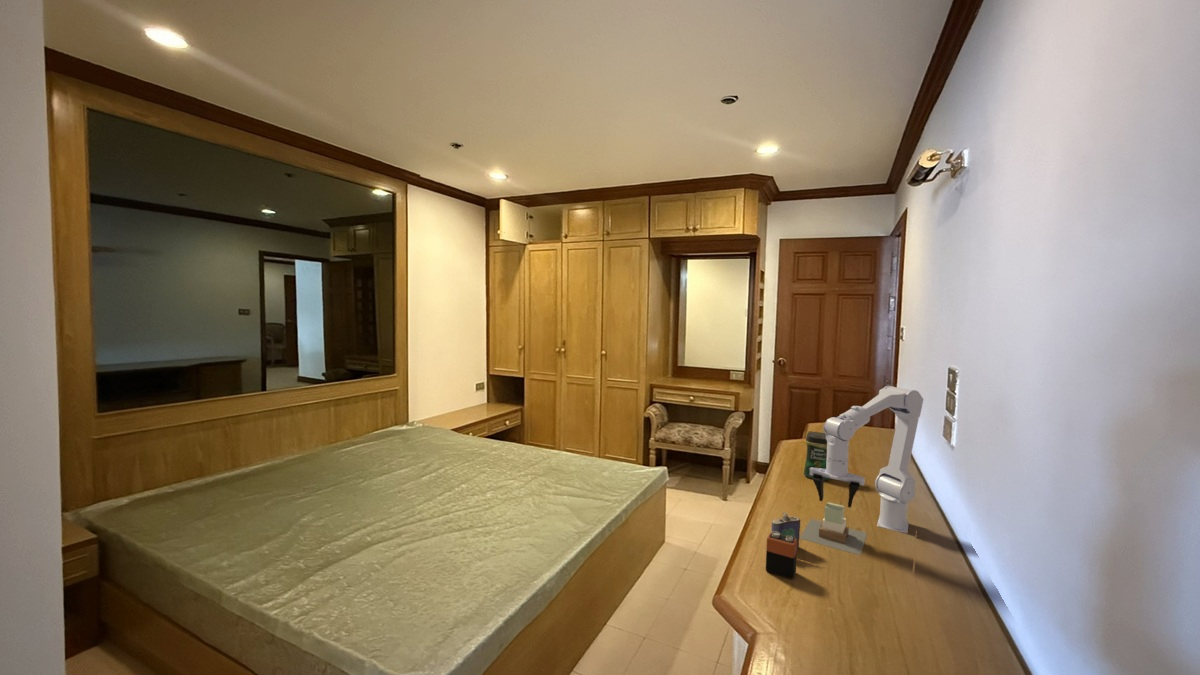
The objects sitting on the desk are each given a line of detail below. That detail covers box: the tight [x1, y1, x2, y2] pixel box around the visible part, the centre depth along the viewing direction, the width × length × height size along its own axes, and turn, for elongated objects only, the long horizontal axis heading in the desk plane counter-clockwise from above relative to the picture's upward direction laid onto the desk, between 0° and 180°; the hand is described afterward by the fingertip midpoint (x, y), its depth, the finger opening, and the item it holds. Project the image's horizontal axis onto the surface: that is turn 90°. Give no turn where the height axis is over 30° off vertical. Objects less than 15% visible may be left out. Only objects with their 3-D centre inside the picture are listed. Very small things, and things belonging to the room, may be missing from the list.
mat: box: [799, 518, 868, 556], centre depth 140 cm, size 16×16×1 cm
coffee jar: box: [803, 430, 830, 482], centre depth 189 cm, size 10×8×19 cm
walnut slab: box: [819, 521, 850, 544], centre depth 140 cm, size 7×7×2 cm
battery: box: [765, 531, 798, 580], centre depth 121 cm, size 4×7×10 cm, turn 57°
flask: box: [770, 511, 801, 550], centre depth 132 cm, size 9×3×11 cm, turn 109°
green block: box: [823, 502, 845, 524], centre depth 140 cm, size 4×4×4 cm
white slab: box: [822, 517, 847, 534], centre depth 140 cm, size 6×6×2 cm
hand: (835, 503), depth 140 cm, fingers open, 7 cm apart
